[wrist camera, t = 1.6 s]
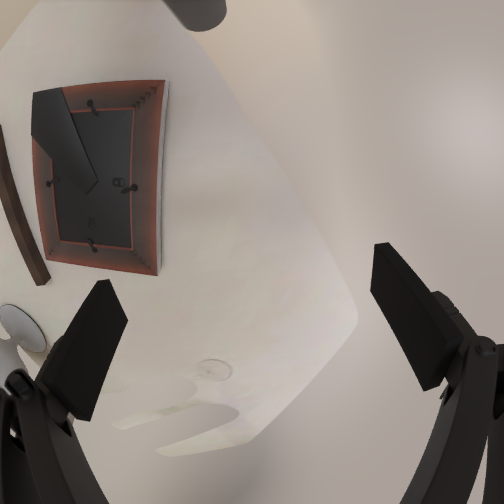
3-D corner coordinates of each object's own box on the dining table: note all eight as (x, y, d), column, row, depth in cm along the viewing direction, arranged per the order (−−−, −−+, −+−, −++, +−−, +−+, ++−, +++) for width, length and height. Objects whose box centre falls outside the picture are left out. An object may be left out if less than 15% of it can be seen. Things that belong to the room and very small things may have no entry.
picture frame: (44, 91, 23) (54, 251, 33) (32, 92, 21) (45, 260, 31) (171, 81, 24) (161, 266, 35) (165, 79, 22) (157, 277, 32)
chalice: (23, 353, 44) (-5, 404, 31) (-12, 302, 38) (-49, 352, 25) (62, 354, 43) (34, 415, 30) (23, 295, 37) (-21, 356, 24)
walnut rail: (-7, 129, 24) (-17, 132, 22) (0, 124, 24) (-9, 126, 22) (42, 278, 35) (36, 286, 33) (51, 277, 35) (44, 285, 33)
